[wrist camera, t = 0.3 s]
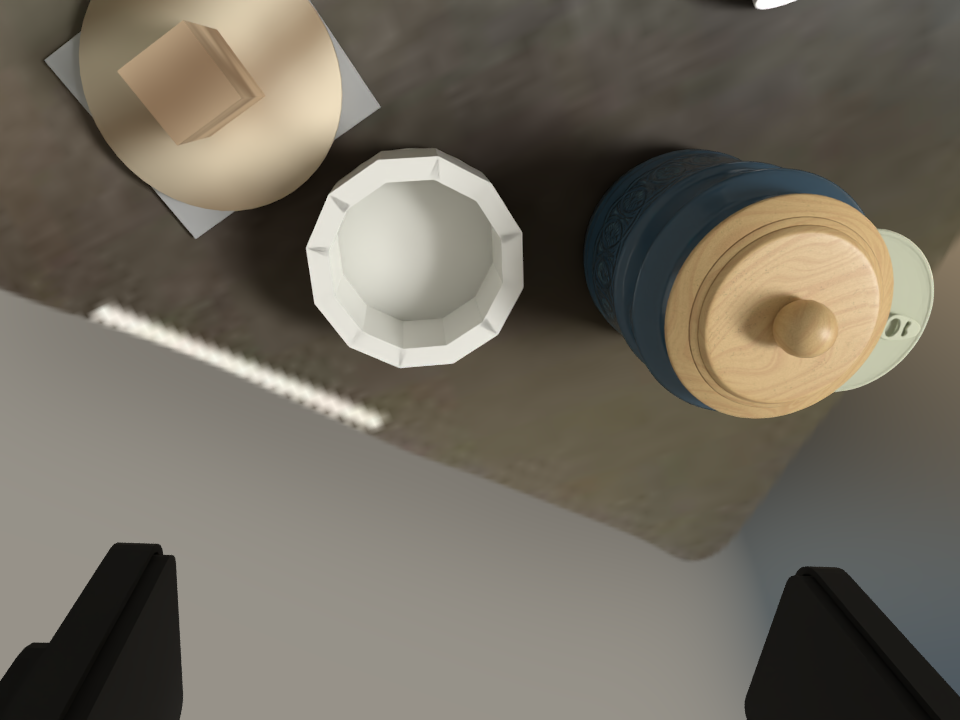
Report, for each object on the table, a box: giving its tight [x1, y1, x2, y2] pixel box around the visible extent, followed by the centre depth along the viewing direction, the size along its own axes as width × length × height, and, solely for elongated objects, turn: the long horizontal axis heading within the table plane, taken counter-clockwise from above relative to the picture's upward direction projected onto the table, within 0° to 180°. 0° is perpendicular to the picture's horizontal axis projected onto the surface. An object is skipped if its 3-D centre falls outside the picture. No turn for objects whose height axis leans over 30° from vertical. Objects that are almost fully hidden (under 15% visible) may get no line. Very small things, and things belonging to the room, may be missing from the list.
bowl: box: [306, 148, 524, 368], centre depth 41 cm, size 12×12×6 cm
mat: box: [44, 0, 380, 239], centre depth 39 cm, size 12×14×1 cm
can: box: [834, 228, 934, 392], centre depth 41 cm, size 9×9×12 cm
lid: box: [79, 0, 343, 211], centre depth 35 cm, size 14×14×7 cm
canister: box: [583, 149, 894, 418], centre depth 37 cm, size 13×13×18 cm
